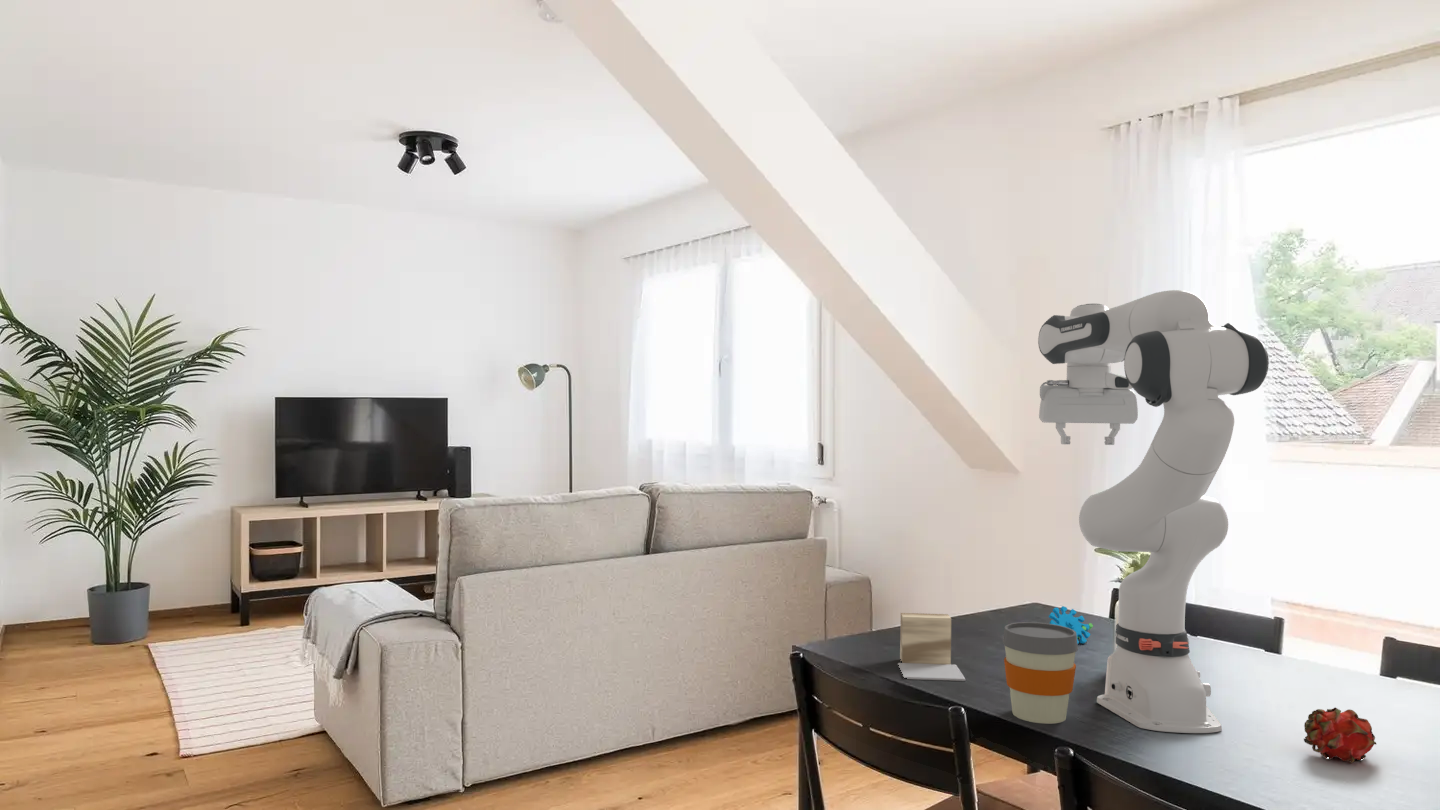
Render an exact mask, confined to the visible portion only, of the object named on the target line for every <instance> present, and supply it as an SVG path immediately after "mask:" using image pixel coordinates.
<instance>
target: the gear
mask: <svg viewBox="0 0 1440 810" xmlns="http://www.w3.org/2000/svg"><path fill="white" fill-rule="evenodd" d="M1060 611H1061V613H1060ZM1067 611H1068V607H1066V606H1063V605H1062V606H1061V607H1060V608H1059V607H1054V608H1053V609H1052V612H1050V614H1049V615H1048V618H1049V619H1051V620H1050V621H1049V623H1048V624H1054V625H1059V626H1063V627H1067V628H1070V629H1072V630H1074V631H1075V632H1076V635H1077V645H1078V644H1079V643H1080V644H1086V642H1088V640H1087V639H1089V638H1090V636H1091V633H1090V632H1089V631H1090V630H1091V629H1092V628H1093V627H1094V625H1093V623H1091V622H1089V623H1083V622H1084V621H1085V620H1086V619H1085V618H1084V616H1083V615H1080V616H1077V617H1075V615H1077V611H1076V610H1075V609H1074V608H1071V610H1070V611H1069V613H1066V612H1067Z"/></svg>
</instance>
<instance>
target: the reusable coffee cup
mask: <svg viewBox="0 0 1440 810" xmlns="http://www.w3.org/2000/svg"><path fill="white" fill-rule="evenodd" d="M1003 628H1004V629H1003V636H1002V637H1003V638H1002V644H1003V646H1004V650H1005V657H1004V658H1003V662H1004V670H1005V671H1004V672H1005V680H1006V685H1007V686H1008V688H1009V695H1010V703H1011V711H1012V712H1011V713H1012V714H1013V716H1014V717H1016V718H1018V719H1019V720H1023V721H1025V722H1030V723H1036V724H1047V725H1049V724H1060V723H1063V722H1065V721H1066V719H1067V715H1068V714H1067V712H1068V707H1069V701H1070V699H1069V698H1070V694H1071V693H1072V692H1073V688H1074V683H1075V682H1074V681H1075V675H1076V670H1077V669H1076V668H1077V664H1076V663H1075V658H1076V652H1078V650H1079V648H1078V647H1079V646H1078V644H1077V639H1078V638H1077V635H1076V632H1075V631H1074V630H1072V629H1070V628H1067V627H1063V626H1059V625H1054V624H1049V623H1048V622H1047V623H1045V622H1032V621H1030V622H1029V621H1028V622H1026V621H1025V622H1024V621H1023V622H1013V623H1009V624H1006V625H1005V626H1004V627H1003Z"/></svg>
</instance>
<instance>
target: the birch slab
mask: <svg viewBox="0 0 1440 810" xmlns="http://www.w3.org/2000/svg"><path fill="white" fill-rule="evenodd" d="M899 630H900V634H899V635H900V636H899V637H900V638H899V640H900V641H899V644H900V646H899V647H900V648H899V660H900V659H901V660H900V662H901V661H902V663H919V664H951V665H952V663H951V661H952V617H951V616H950V614H948V613H921V612H919V613H918V612H917V613H916V612H915V613H914V612H900V629H899Z"/></svg>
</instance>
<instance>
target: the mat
mask: <svg viewBox="0 0 1440 810" xmlns="http://www.w3.org/2000/svg"><path fill="white" fill-rule="evenodd" d="M898 665H899V666H898ZM897 666H898V668H900V669H899V671H900V670H901V671H900V672H902V673H901V675H902V674H903V675H902V677H904V678H907V679H906V680H924V681H925V680H927V681H928V680H929V681H952V682H955V681H957V682H966V681H967V680H966V678H965V676H964V674H963V673H962V671H961V669H960V668H959V667H958V665H957V664H952V663H951V664H919V663H901V662H898V663H897ZM904 678H903V679H904Z"/></svg>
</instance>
